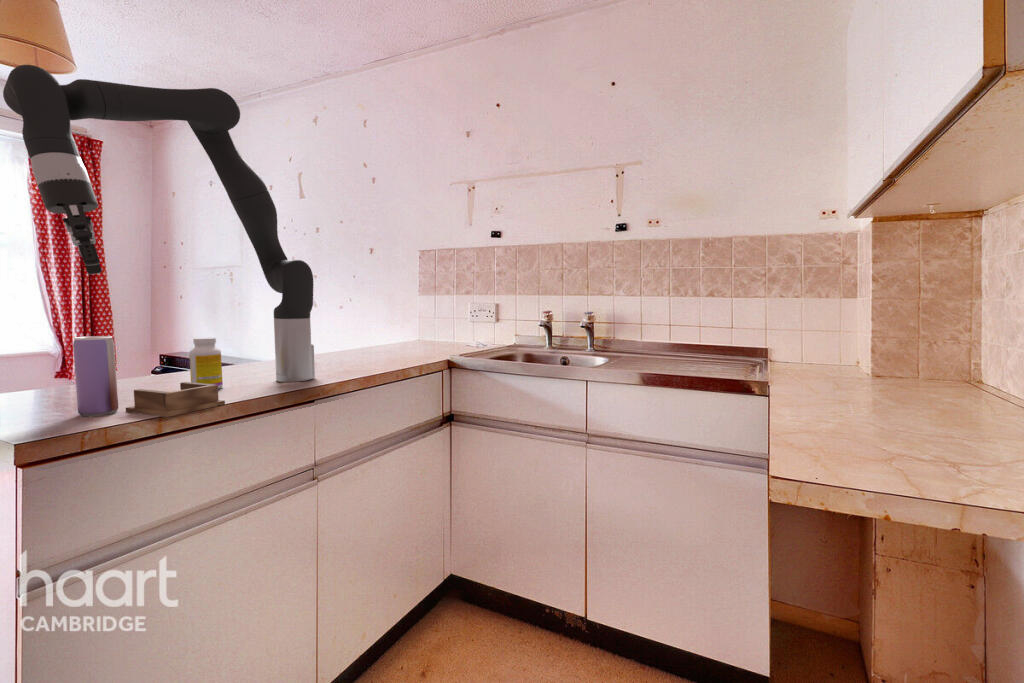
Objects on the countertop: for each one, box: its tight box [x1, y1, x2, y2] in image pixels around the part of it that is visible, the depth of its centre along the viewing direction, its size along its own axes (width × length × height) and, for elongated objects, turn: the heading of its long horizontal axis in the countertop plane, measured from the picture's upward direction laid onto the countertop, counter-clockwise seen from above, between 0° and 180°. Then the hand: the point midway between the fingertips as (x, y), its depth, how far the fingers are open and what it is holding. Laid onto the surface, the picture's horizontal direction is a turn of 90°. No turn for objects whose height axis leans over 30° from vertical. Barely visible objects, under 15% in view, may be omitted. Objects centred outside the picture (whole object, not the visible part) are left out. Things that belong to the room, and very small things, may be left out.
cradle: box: [125, 381, 226, 418], centre depth 98 cm, size 12×12×4 cm
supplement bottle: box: [188, 337, 224, 390], centre depth 118 cm, size 7×7×13 cm
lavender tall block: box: [72, 335, 119, 418], centre depth 92 cm, size 6×6×15 cm
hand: (94, 269), depth 90 cm, fingers open, 8 cm apart
